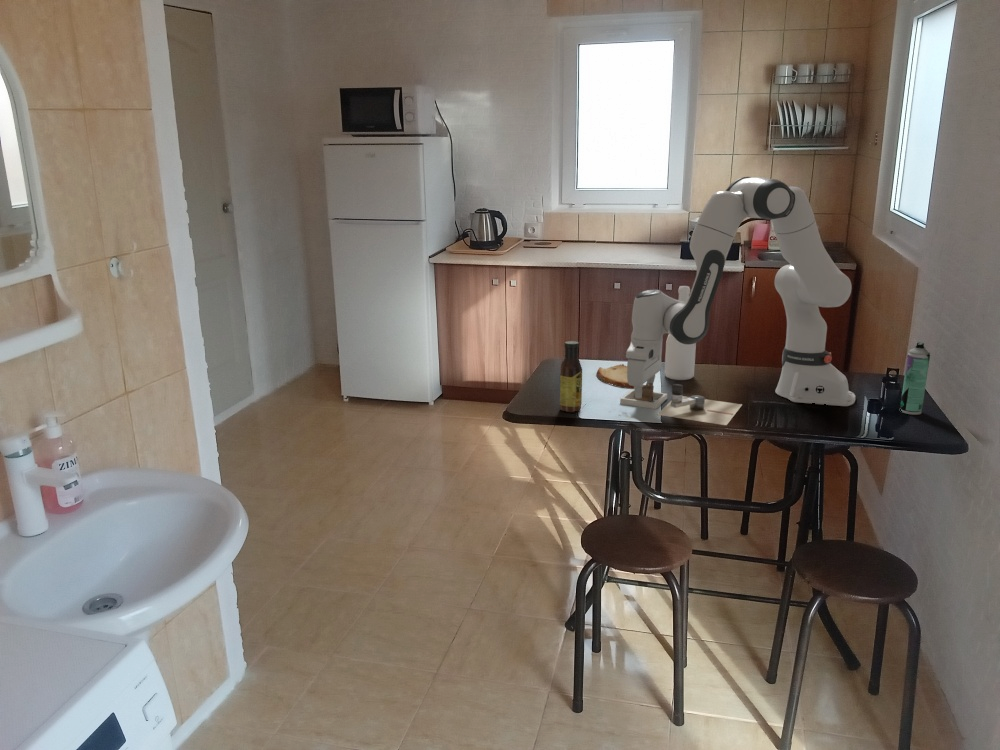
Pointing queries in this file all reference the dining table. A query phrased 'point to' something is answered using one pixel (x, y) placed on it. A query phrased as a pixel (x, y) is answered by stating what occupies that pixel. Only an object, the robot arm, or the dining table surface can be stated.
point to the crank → (693, 401)
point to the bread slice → (614, 375)
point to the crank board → (704, 412)
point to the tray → (630, 400)
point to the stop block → (646, 393)
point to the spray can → (915, 380)
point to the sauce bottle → (571, 379)
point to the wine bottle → (680, 351)
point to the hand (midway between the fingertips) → (644, 393)
